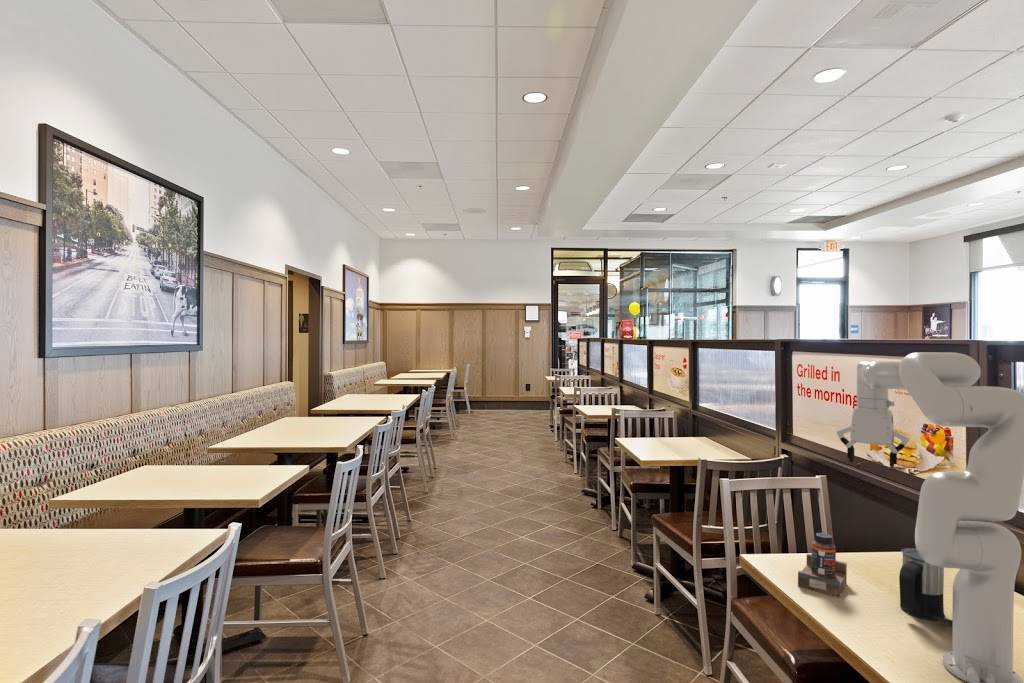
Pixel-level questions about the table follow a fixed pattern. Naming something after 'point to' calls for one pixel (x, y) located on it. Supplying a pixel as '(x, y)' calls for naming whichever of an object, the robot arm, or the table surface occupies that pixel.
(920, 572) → the milk frother
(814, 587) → the shelf
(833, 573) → the supplement bottle
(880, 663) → the table surface
